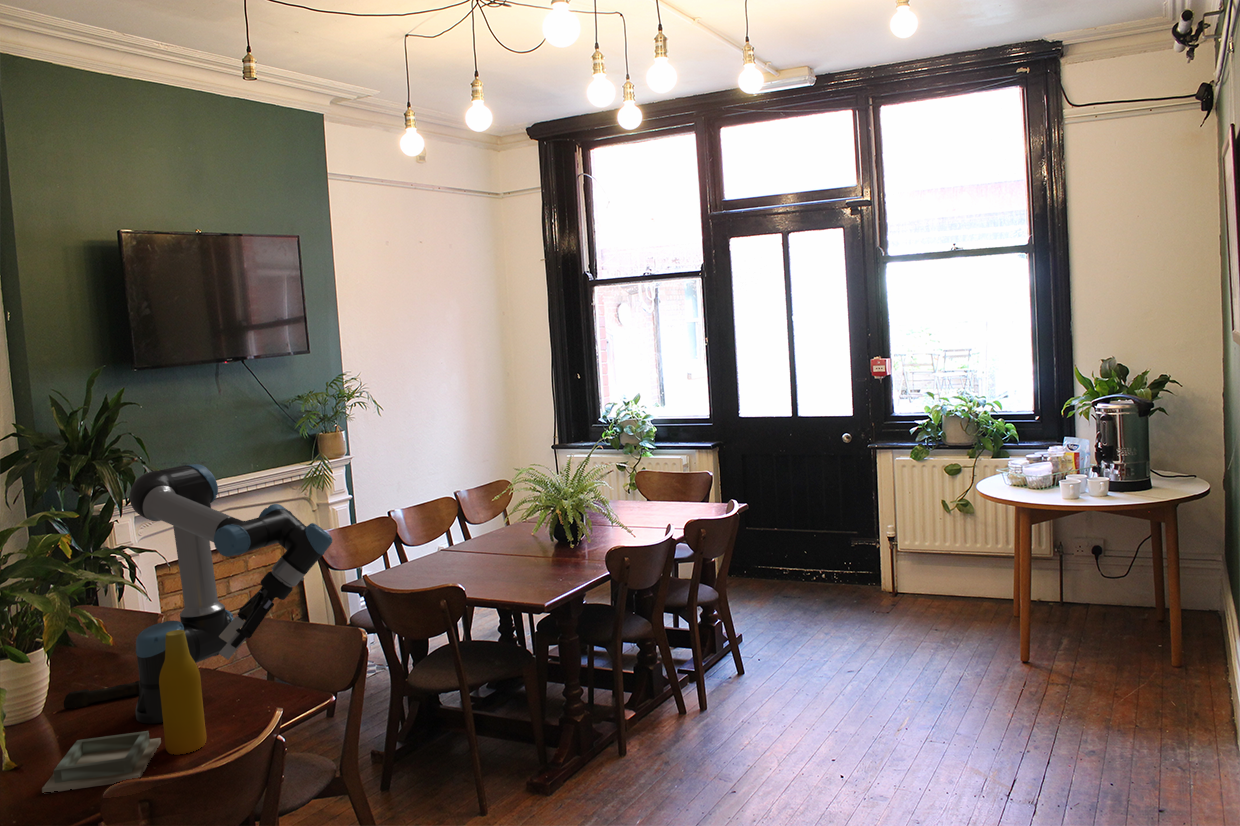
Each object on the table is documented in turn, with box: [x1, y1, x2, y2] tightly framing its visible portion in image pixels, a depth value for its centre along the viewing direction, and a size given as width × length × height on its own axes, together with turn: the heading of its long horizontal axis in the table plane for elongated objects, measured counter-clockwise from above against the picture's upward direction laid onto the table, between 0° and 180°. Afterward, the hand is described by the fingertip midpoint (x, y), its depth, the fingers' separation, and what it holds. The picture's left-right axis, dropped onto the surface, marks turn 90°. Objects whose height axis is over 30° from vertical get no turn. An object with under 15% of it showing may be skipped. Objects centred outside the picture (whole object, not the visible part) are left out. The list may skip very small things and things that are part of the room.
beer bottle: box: [159, 630, 208, 756], centre depth 231 cm, size 9×9×29 cm
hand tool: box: [63, 680, 141, 709], centre depth 265 cm, size 19×4×5 cm, turn 116°
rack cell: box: [41, 730, 162, 794], centre depth 224 cm, size 20×20×4 cm
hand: (223, 647), depth 234 cm, fingers open, 13 cm apart
